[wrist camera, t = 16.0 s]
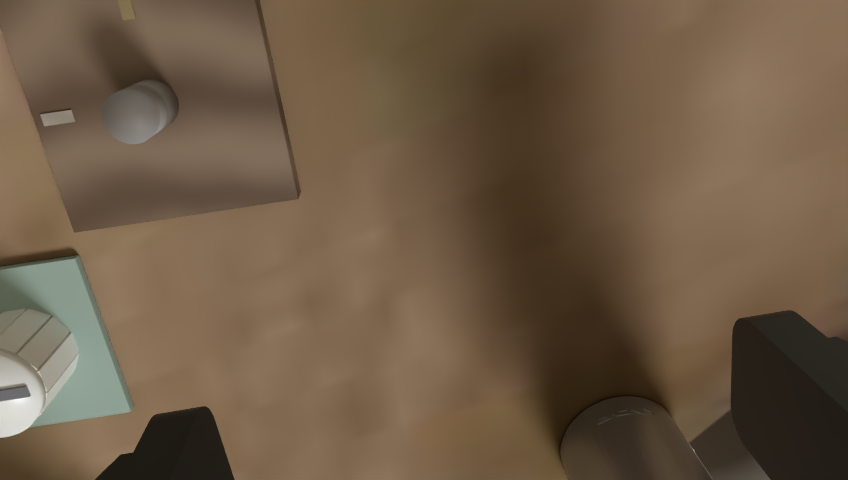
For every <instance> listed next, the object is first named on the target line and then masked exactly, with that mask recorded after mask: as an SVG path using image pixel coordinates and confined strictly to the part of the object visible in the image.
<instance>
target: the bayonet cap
mask: <svg viewBox="0 0 848 480" xmlns="http://www.w3.org/2000/svg"><path fill="white" fill-rule="evenodd" d="M50 318H51V315H49V314H46V313H42V312H39V311H35V310H32V309H27V310H26V308H25V309H18V310H12V311H6V312H3V313H1V314H0V438H2V437H9V436H13V435H16V434H19V433H21V432H23V431H24V430H26V429H27V428H29V427H30V426H31V425H32V424H33V422H34V421H35V420H36V418H37V417H38V416H40V415H41V414H42V413H43V412H44V410H45V409H46V408H47V407H48V405H49V404H50V403H51V401H52V400H53V399H54V397H55V396H56V395H57V393H58V392H59V391H60V390H61V388H62V387H63V386H64V384H65V383H66V382H67V380H68V379H69V378H70V376H71V375H72V374H73V372H74V371H75V368H76V364H77V360H78V356H79V353H78V352H79V350H78V347H77V344H76V342H75V339H74V337H73V334H72V333H69V332H70V330H69V329H68V328H67V327H65V326H64V325H63V324H62V323H61V322H60V321H58V320H57V319H56V318H55V317H54V316H53V317H52V318H51V319H50Z"/></svg>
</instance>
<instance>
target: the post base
mask: <svg viewBox="0 0 848 480" xmlns="http://www.w3.org/2000/svg"><path fill="white" fill-rule="evenodd" d="M0 27H1V30H2V32H3V35H4V38H5V41H6V43H7V46H8V49H9V52H10V55H11V57H12V60H13V63H14V66H15V69H16V71H17V74H18V77H19V80H20V83H21V85H22V88H23V91H24V94H25V96H26V99H27V102H28V105H29V108H30V110H31V113H32V116H33V119H34V122H35V124H36V127H37V130H38V133H39V135H40V138H41V141H42V144H43V147H44V149H45V152H46V155H47V158H48V161H49V163H50V166H51V169H52V172H53V174H54V177H55V180H56V183H57V186H58V188H59V191H60V194H61V197H62V200H63V202H64V205H65V208H66V211H67V213H68V216H69V219H70V222H71V225H72V227H73V230H74V233H75V232H82V231H88V230H95V229H101V228H108V227H115V226H121V225H128V224H135V223H141V222H148V221H155V220H161V219H168V218H175V217H181V216H188V215H195V214H201V213H208V212H214V211H221V210H228V209H234V208H241V207H248V206H254V205H261V204H268V203H274V202H281V201H288V200H294V199H298V198H299V195H300V192H301V190H300V186H299V181H298V176H297V172H296V167H295V163H294V158H293V153H292V149H291V144H290V139H289V135H288V130H287V125H286V121H285V116H284V112H283V107H282V102H281V98H280V93H279V88H278V84H277V79H276V75H275V70H274V65H273V61H272V56H271V51H270V47H269V42H268V38H267V33H266V28H265V24H264V19H263V14H262V10H261V5H260V1H259V0H0Z"/></svg>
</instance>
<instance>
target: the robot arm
mask: <svg viewBox="0 0 848 480" xmlns="http://www.w3.org/2000/svg"><path fill="white" fill-rule="evenodd" d="M731 412H732V417H733V421H734V424H735V427H736V430H737V433H738V435H739V437H740V439H741V441H742V443H743V444H744V446H745V447H746V448H747V450H748V451H749V452H750V454H751V455H752V456H753V457H754V459H755V460H756V461H757V462H758V464H759V465H760V466H761V468H762V469H763V470H764V471H765V473H766V474H767V475H768V477H769V478H770V479H771V480H848V342H847V341H845V340H843V339H840V338H838V337H832V338H827V337H826V336H825V335H824V334H822V333H821V332H820V331H819V330H817V329H816V328H815V327H814V326H812V325H811V324H810V323H809V322H807V321H806V320H805V319H804V318H802V317H801V316H800V315H799V314H797V313H796V312H794V311H790V310H787V311H781V312H775V313H769V314H763V315H757V316H751V317H745V318H740V319H738V320H737V321H736V322H735V324H734V327H733V335H732V373H731ZM560 454H561V462H562V464H563V467H564V470H565V473H566V475H567V478H568V480H713V479H712V478H711V476H710V475H709V473H708V472H707V470H706V469H705V467H704V466H703V464H702V463H701V461H700V460H699V458H698V457H697V455H696V454H695V452H694V450H693V449H692V447H691V446H690V444H689V443H688V441H687V440H686V438H685V437H684V435H683V434H682V432H681V431H680V429H679V428H678V426H677V425H676V423H675V422H674V420H673V419H672V417H671V416H670V414H669V413H668V412H667V411H666V410H665V409H664V408H663V407H662V406H660V405H658V404H657V403H655V402H653V401H651V400H648V399H645V398H642V397H634V396H623V397H614V398H610V399H606V400H603V401H601V402H599V403H596V404H594V405H592V406H590V407H589V408H587V409H586V410H584V411H583V412H581V413H580V414H579V415H578V416H577V417H576V418H575V419H574V420H573V421H572V423H571V424H570V426H569V427H568V428H567V430H566V432H565V434H564V437H563V439H562V443H561V449H560ZM95 480H234V477H233V474H232V471H231V468H230V465H229V462H228V459H227V456H226V453H225V450H224V446H223V443H222V440H221V437H220V434H219V431H218V428H217V425H216V422H215V419H214V416H213V414H212V412H211V411H210V409H209V408H207V407H205V406H204V407H197V408H191V409H185V410H179V411H173V412H167V413H161V414H156V415H154V416H153V417H152V418H151V419H150V421H149V423H148V425H147V427H146V429H145V431H144V433H143V435H142V437H141V439H140V441H139V443H138V444H137V446H136V448H135V450H134V452H133V453H128V454H122V455H120V456H119V457H118V458H117V459H116V460H115V461H114V462H113V463H112V464H111V465H110V466H108V467H107V468H106V469H105V470H104V471H103V472H102V473H101V474H100V475H99V476H98V477H97V478H96V479H95Z"/></svg>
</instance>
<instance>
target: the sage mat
mask: <svg viewBox="0 0 848 480" xmlns="http://www.w3.org/2000/svg"><path fill="white" fill-rule="evenodd" d="M25 308H26V310H27V309H32V310H35V311H39V312H42V313H46V314H49V315H51V318H52V317H53V316H54V317H55V318H56V319H57V320H58V321H60V322H61V323H62V324H63V325H64V326H65V327H67V328H68V329H69V330H70V332H69V333H72V334H73V337H74V339H75V342H76V344H77V347H78V350H79V352H78V353H79V356H78V360H77V364H76V368H75V371H74V372H73V374H72V375H71V376H70V378H69V379H68V380H67V382H66V383H65V384H64V386H63V387H62V388H61V390H60V391H59V392H58V393H57V395H56V396H55V397H54V399H53V400H52V401H51V403H50V404H49V405H48V407H47V408H46V409H45V410H44V412H43V413H42V414H41V415H40V416H38V417H37V418H36V420H35V421H34V422H33V424H32V425H31V426H30V427H35V426H42V425H48V424H55V423H61V422H68V421H75V420H81V419H88V418H94V417H101V416H107V415H114V414H120V413H127V412H131V411H132V409H133V407H134V406H133V403H132V401H131V398H130V395H129V392H128V389H127V387H126V384H125V381H124V378H123V376H122V373H121V370H120V367H119V365H118V362H117V359H116V356H115V353H114V351H113V348H112V345H111V342H110V340H109V337H108V334H107V331H106V329H105V326H104V323H103V320H102V317H101V315H100V312H99V309H98V306H97V304H96V301H95V298H94V295H93V292H92V290H91V287H90V284H89V281H88V279H87V276H86V273H85V270H84V268H83V265H82V262H81V259H80V256H79V255H75V256H69V257H62V258H55V259H49V260H42V261H35V262H29V263H22V264H15V265H9V266H2V267H0V314H1V313H3V312H6V311H12V310H18V309H25ZM51 318H50V319H51Z"/></svg>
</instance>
